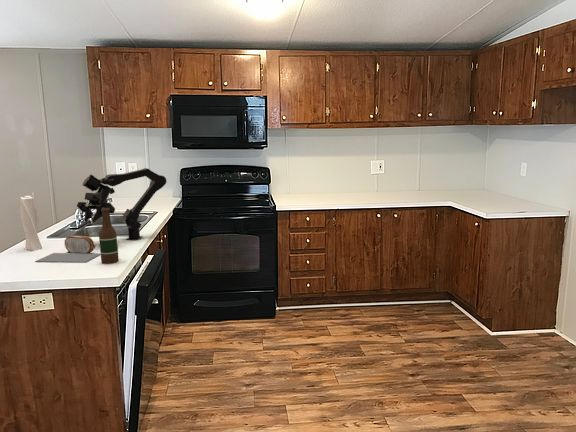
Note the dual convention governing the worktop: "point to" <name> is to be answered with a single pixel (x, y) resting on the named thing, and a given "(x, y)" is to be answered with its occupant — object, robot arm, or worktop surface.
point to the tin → (79, 244)
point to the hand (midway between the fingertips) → (89, 221)
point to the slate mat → (69, 257)
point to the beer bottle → (108, 239)
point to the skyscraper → (30, 222)
